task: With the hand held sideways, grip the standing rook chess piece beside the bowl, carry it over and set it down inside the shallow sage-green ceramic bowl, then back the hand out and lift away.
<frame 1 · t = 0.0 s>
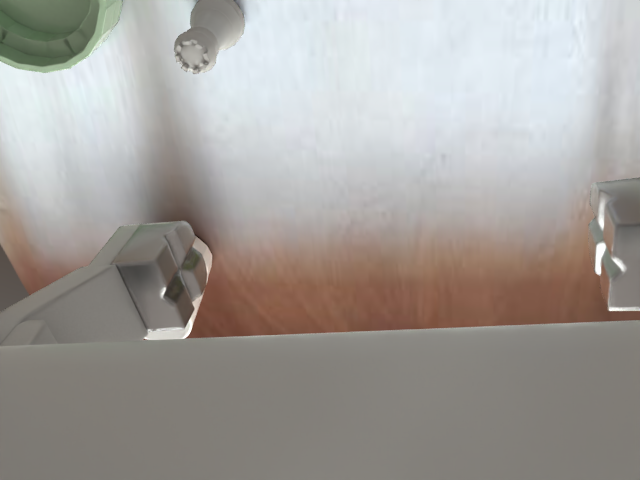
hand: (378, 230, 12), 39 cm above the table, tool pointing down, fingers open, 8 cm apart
white cup: (185, 252, 68), on the table
rook chess piece: (220, 17, 50), on the table
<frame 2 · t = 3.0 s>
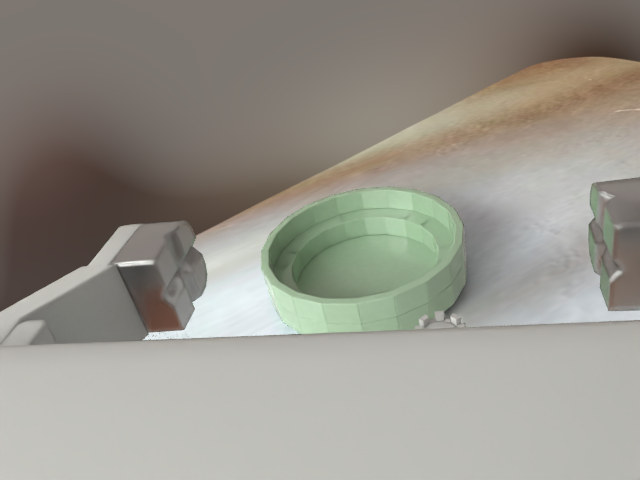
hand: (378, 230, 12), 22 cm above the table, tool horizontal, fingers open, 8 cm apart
rook chess piece: (453, 434, 34), on the table
bowl: (368, 281, 47), on the table
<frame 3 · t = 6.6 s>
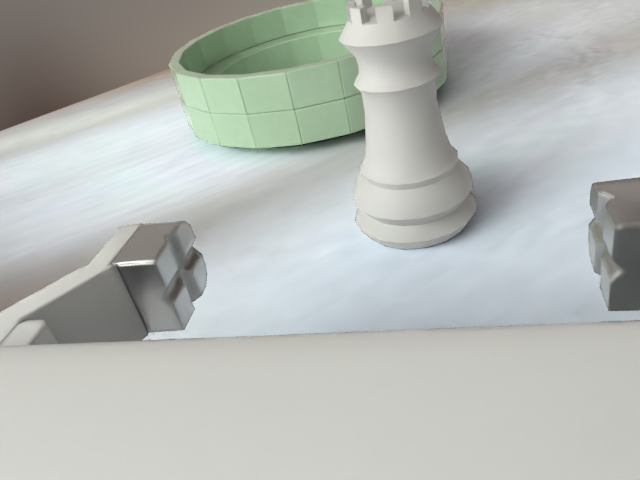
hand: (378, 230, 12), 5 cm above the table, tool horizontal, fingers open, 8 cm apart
rook chess piece: (416, 224, 22), on the table
bowl: (317, 99, 35), on the table
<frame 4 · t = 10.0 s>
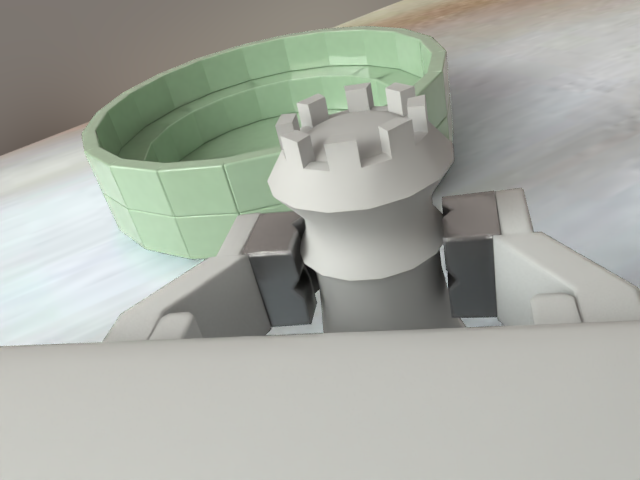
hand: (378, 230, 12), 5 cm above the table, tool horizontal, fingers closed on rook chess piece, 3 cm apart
rook chess piece: (408, 432, 14), on the table, touching gripper
bowl: (284, 171, 27), on the table
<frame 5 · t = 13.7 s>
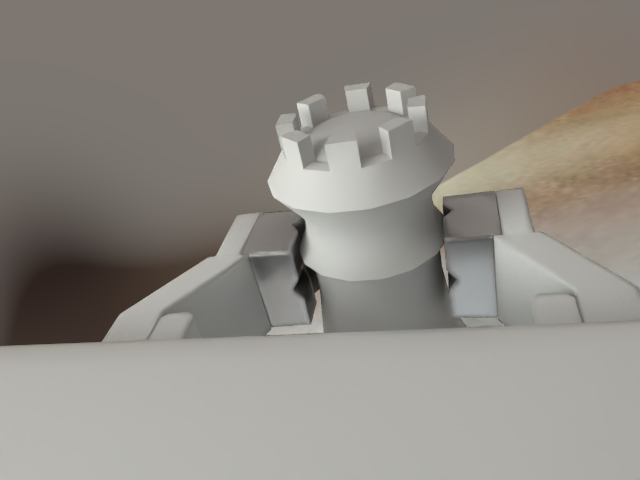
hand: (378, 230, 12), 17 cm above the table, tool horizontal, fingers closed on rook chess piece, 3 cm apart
rook chess piece: (408, 433, 14), point 12 cm above the table, touching gripper
when the fingers open (6 cm above the table, at t = 17.8 s): rook chess piece stays where it is, resting on bowl.
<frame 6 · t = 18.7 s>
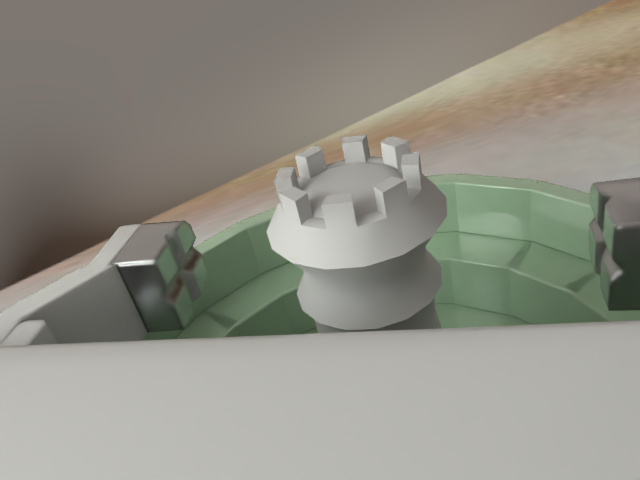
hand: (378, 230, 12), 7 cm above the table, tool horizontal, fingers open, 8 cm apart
rook chess piece: (404, 464, 15), resting on bowl
bowl: (409, 469, 15), on the table
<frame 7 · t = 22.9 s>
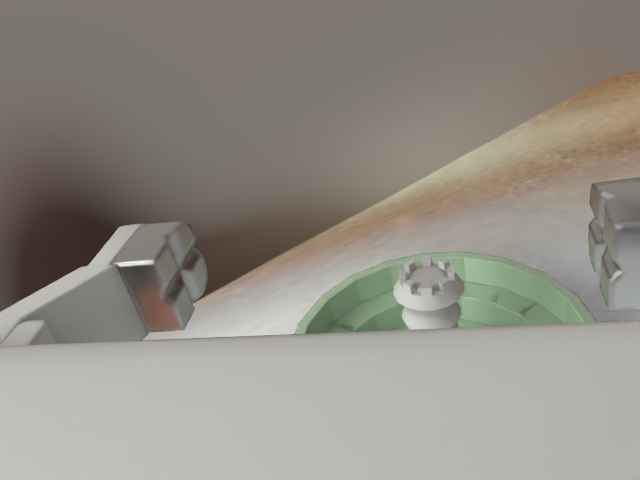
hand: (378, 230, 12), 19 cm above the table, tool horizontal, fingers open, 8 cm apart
rook chess piece: (441, 395, 31), resting on bowl
bowl: (443, 398, 32), on the table
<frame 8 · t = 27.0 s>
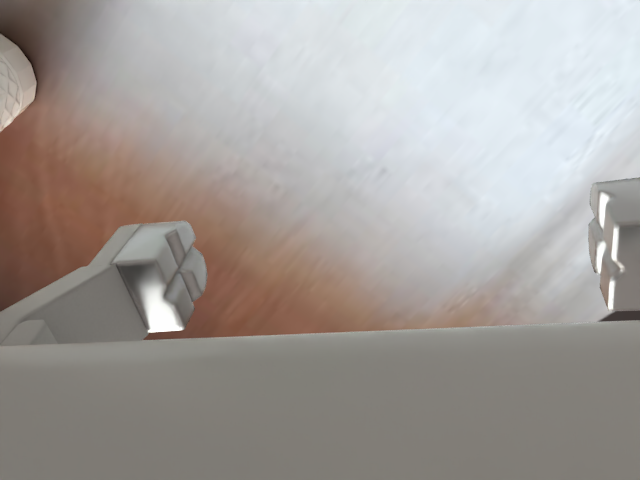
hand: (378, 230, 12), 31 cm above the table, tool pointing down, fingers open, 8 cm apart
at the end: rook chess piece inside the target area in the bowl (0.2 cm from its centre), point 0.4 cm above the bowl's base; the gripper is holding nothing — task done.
